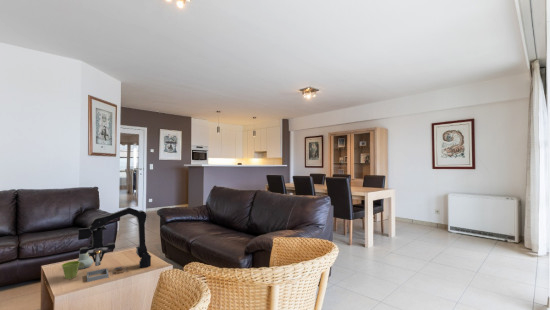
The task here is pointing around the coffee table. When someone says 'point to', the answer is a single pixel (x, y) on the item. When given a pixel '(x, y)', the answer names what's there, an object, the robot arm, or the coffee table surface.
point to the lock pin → (97, 257)
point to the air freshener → (84, 261)
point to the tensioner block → (118, 270)
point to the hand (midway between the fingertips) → (97, 261)
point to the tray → (98, 275)
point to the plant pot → (70, 269)
